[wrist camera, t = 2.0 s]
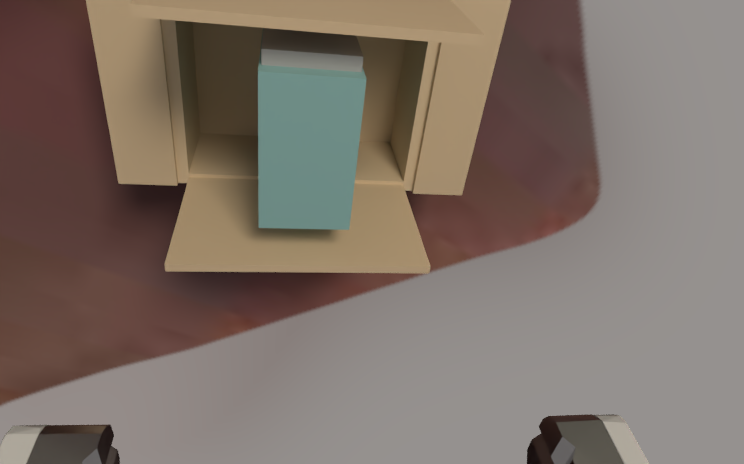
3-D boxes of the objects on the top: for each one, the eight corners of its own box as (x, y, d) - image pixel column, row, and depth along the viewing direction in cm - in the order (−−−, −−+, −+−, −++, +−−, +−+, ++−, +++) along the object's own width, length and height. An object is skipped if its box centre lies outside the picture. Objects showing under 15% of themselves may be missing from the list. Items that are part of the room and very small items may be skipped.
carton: (439, 149, 37) (499, 273, 26) (141, 135, 34) (77, 270, 23) (477, -29, 30) (576, 42, 20) (112, -69, 27) (5, -7, 17)
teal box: (331, 117, 34) (349, 229, 24) (266, 114, 33) (258, 227, 24) (341, -12, 30) (368, 63, 20) (267, -19, 29) (257, 54, 19)
